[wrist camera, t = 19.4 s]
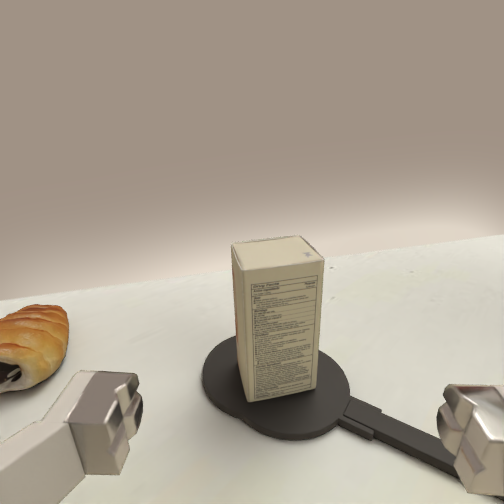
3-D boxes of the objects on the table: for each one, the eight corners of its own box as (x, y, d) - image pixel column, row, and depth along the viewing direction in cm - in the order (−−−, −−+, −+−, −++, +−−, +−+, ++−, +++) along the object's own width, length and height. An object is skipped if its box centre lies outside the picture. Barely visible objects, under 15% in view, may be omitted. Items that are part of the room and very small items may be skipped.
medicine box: (296, 349, 27) (303, 233, 23) (317, 391, 23) (331, 260, 19) (232, 359, 26) (228, 239, 22) (243, 404, 22) (241, 269, 18)
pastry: (11, 324, 31) (-1, 288, 30) (88, 317, 33) (80, 282, 31) (-53, 407, 23) (-75, 363, 21) (54, 393, 24) (40, 351, 23)
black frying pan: (582, 460, 20) (586, 452, 19) (626, 644, 13) (634, 635, 13) (244, 325, 31) (244, 319, 31) (178, 386, 25) (177, 378, 24)
